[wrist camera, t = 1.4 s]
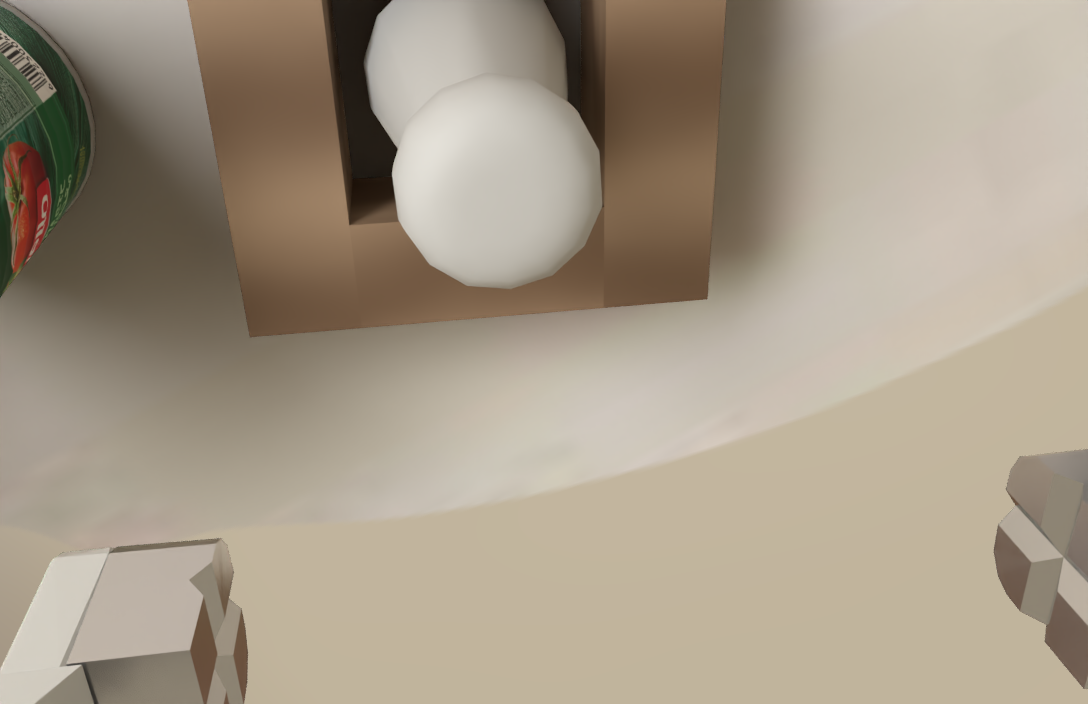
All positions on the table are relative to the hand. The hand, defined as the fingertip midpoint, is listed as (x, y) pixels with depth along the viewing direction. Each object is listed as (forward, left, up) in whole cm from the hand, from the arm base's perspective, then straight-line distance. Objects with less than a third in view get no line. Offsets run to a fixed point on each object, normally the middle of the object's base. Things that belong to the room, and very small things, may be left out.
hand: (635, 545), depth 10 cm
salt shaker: (0, 0, -24) cm, 24 cm away
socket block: (0, 0, -24) cm, 24 cm away
